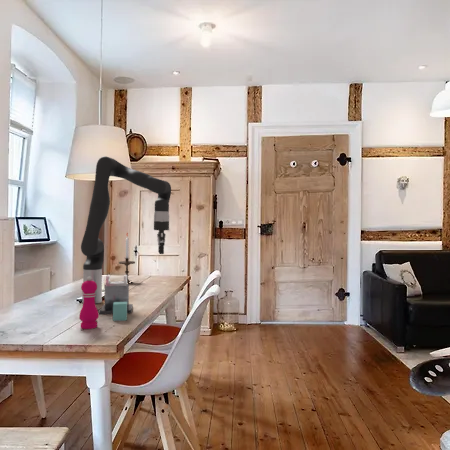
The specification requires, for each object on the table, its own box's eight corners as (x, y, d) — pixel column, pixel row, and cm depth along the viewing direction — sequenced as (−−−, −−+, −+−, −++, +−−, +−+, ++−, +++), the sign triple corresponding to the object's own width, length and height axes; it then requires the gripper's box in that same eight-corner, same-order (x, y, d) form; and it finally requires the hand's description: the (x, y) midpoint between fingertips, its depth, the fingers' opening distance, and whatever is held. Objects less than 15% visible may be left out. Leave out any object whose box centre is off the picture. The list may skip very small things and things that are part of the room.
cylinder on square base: (99, 314, 186) (99, 277, 186) (103, 307, 200) (103, 274, 200) (131, 313, 189) (131, 277, 189) (132, 307, 203) (132, 273, 203)
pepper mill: (87, 330, 159) (88, 278, 159) (75, 327, 163) (75, 276, 162) (102, 326, 165) (102, 276, 165) (90, 324, 169) (90, 274, 169)
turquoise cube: (112, 320, 174) (113, 304, 174) (114, 318, 179) (114, 302, 179) (126, 320, 175) (126, 303, 175) (127, 317, 180) (127, 301, 180)
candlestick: (132, 284, 279) (133, 232, 278) (116, 283, 279) (117, 231, 279) (136, 281, 289) (136, 231, 289) (121, 281, 290) (121, 231, 289)
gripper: (153, 220, 212) (152, 252, 212) (154, 220, 198) (153, 254, 198) (168, 220, 213) (167, 252, 213) (170, 220, 199) (169, 254, 199)
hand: (161, 253), depth 205 cm, fingers open, 8 cm apart
